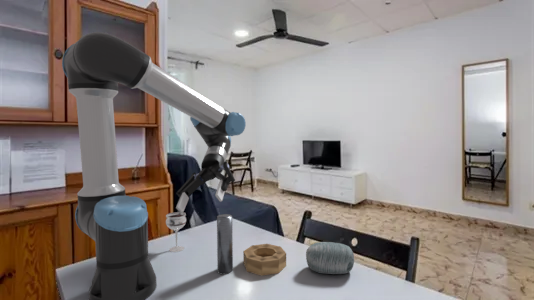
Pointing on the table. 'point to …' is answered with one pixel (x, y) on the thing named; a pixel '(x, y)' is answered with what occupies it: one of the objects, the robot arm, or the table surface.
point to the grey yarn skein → (330, 258)
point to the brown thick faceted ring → (264, 259)
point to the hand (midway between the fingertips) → (198, 204)
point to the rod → (224, 244)
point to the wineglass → (176, 226)
